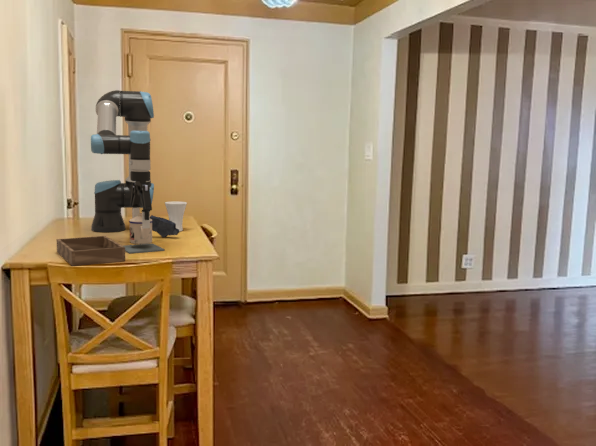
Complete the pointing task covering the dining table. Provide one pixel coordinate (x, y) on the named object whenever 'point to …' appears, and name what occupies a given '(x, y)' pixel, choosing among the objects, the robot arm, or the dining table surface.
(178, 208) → the cup
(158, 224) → the stone
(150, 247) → the mat
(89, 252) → the dark brown tray
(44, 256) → the dining table surface
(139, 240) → the teacup with lid
